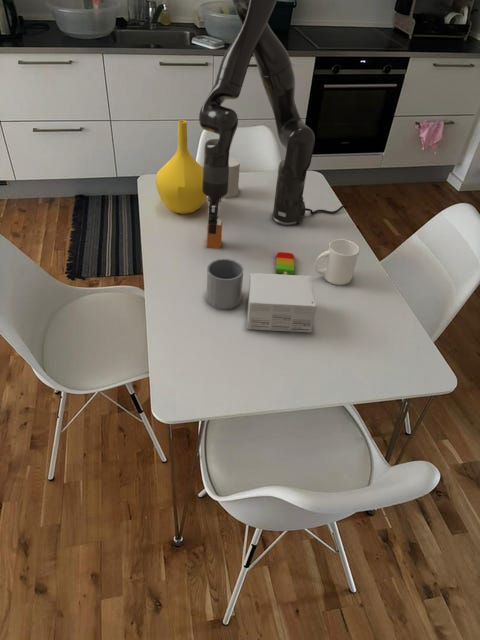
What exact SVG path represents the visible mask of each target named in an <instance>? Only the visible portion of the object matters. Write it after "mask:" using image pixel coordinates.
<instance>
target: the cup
mask: <svg viewBox="0 0 480 640" xmlns="http://www.w3.org/2000/svg"><path fill="white" fill-rule="evenodd" d="M240 167H241V161H240V160H239V159H238V158H235V157H232V156H229V180H228V192H227V194H226V195H225V196H223V197H222V198H226V199H228V198H229V199H230V198H231V199H232V198H234V197H237V196H238V194H239V183H240Z"/></svg>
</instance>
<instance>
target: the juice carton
mask: <svg viewBox="0 0 480 640" xmlns="http://www.w3.org/2000/svg"><path fill="white" fill-rule="evenodd" d="M206 230H207V231H206V233H207V234H206V248H212V249H213V248H214V249H217V248H218V249H222V237H223V236H222V235H223V234H222V233H223V220H222V219H217V225H216V234H210V233H209V224H208V223H207V228H206Z"/></svg>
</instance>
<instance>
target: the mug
mask: <svg viewBox="0 0 480 640" xmlns="http://www.w3.org/2000/svg"><path fill="white" fill-rule="evenodd" d="M359 252H360V248H359V246H358V245H357V244H356V243H355V242H353V241H350V240H348V239H344V238H338V239H333V240H331V241H330V242H329V243H328V248H327V250H326V251H325V250H324V252H321V253H320V254H319V255H318V256H317V258H316V260H315V263H314V268H315V271H316V272H317V273H318V274H319V275H323V277H324V279H325V280H326V281H327V282H328V283H330V284H333V285H337V286H343V285H344V286H345V285H347V284H349V283H350V282H351V281H352V278H353V274H354V272H355V267H356V263H357V260H358V256H359ZM324 258H325V263H324V267H323V268H318V267H317V264H318V262H319V261H320V260H321V259H324Z"/></svg>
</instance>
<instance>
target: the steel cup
mask: <svg viewBox="0 0 480 640" xmlns="http://www.w3.org/2000/svg"><path fill="white" fill-rule="evenodd" d="M243 281H244V267H243V265H242V264H241V263H239V261H236V260H233V259H229V258H219V259H215V260H212V261H211V262H210V263H209V264H208V265H207V269H206V302H207V303H208V304H209V305H210V306H211V307H213V308H215V309H218V310H232V309H235V308H236V307H238V306H239V305H240V304H241V302H242V292H243V283H244V282H243Z"/></svg>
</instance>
